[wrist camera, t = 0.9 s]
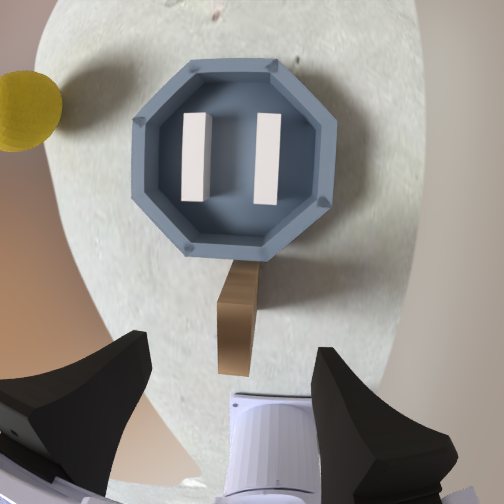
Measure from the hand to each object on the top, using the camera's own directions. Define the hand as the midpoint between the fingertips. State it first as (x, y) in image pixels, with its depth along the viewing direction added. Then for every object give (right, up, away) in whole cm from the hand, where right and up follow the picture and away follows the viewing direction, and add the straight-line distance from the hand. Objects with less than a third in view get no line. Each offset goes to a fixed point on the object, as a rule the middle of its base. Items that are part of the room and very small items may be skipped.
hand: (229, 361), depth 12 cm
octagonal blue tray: (0, +10, +6) cm, 12 cm away
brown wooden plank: (+1, +2, +8) cm, 9 cm away
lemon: (-14, +15, +5) cm, 21 cm away
